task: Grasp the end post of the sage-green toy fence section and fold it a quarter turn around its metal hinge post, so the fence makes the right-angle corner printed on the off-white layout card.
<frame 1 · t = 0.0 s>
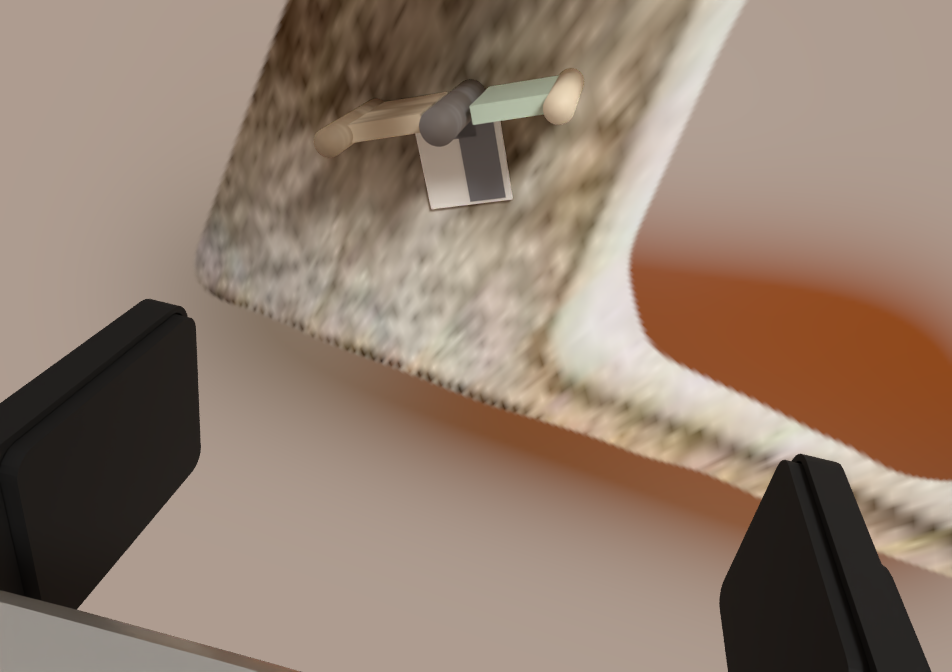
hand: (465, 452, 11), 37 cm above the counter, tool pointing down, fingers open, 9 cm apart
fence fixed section: (471, 96, 46), on the counter
fence swing section: (528, 100, 40), point 5 cm above the counter, hinge at 0.0°
layout card: (463, 162, 47), on the counter
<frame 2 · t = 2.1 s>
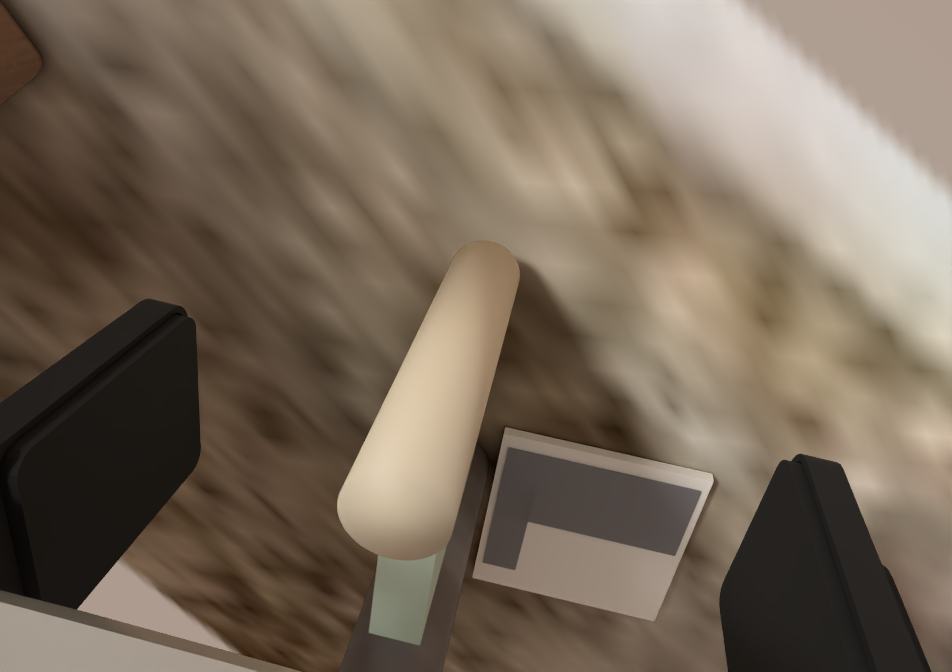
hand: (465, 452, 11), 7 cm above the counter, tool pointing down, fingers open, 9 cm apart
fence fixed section: (453, 462, 20), on the counter
fence swing section: (437, 450, 14), point 5 cm above the counter, hinge at 0.0°
layout card: (583, 530, 21), on the counter
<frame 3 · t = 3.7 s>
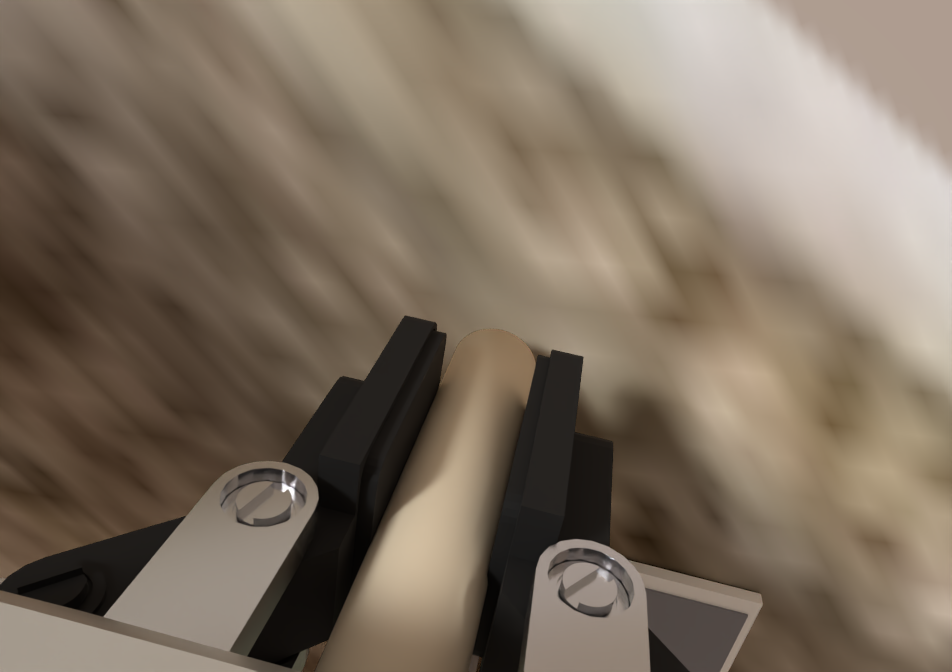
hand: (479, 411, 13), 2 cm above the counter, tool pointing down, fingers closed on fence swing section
fence swing section: (430, 603, 11), point 5 cm above the counter, hinge at 0.0°, touching gripper
layout card: (606, 648, 18), on the counter
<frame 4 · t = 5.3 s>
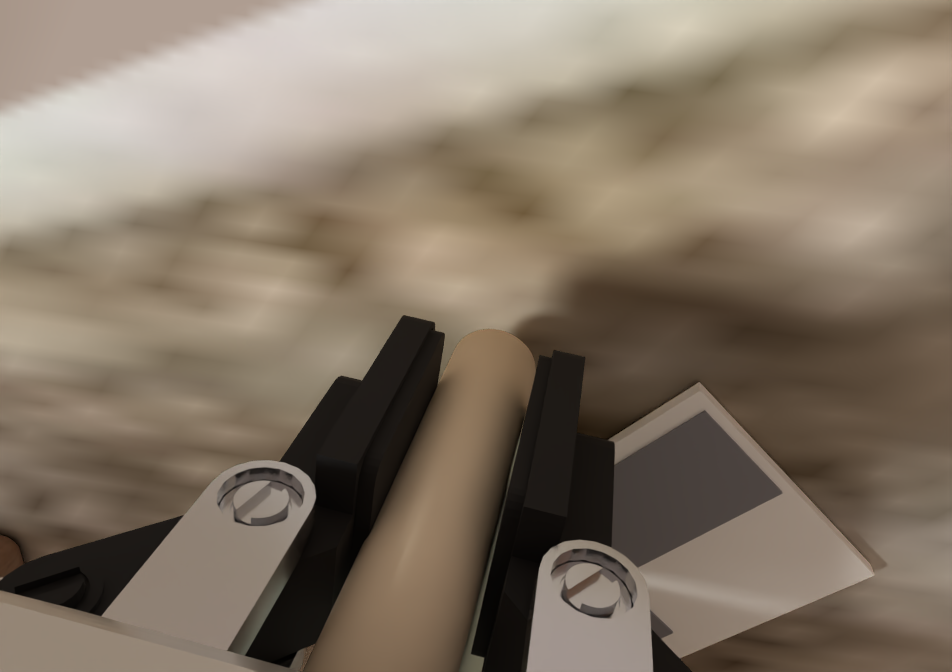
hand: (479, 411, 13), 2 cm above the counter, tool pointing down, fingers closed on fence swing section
fence swing section: (448, 612, 11), point 5 cm above the counter, hinge at -43.7°, touching gripper
layout card: (673, 543, 16), on the counter
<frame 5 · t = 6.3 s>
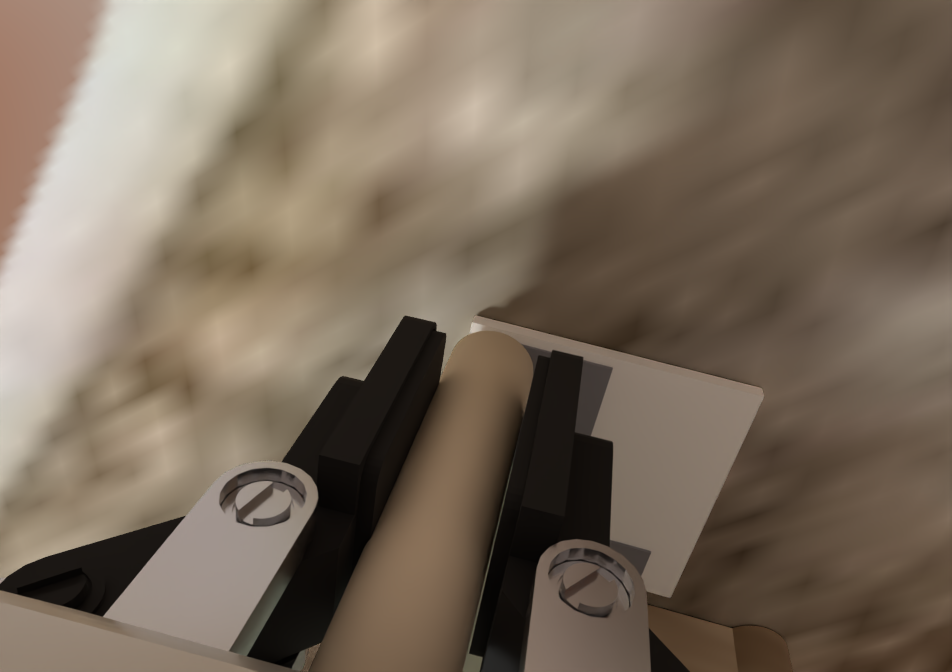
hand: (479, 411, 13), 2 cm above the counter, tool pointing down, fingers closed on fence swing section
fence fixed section: (489, 575, 17), on the counter
fence swing section: (442, 613, 11), point 5 cm above the counter, hinge at -80.8°, touching gripper
layout card: (579, 467, 15), on the counter
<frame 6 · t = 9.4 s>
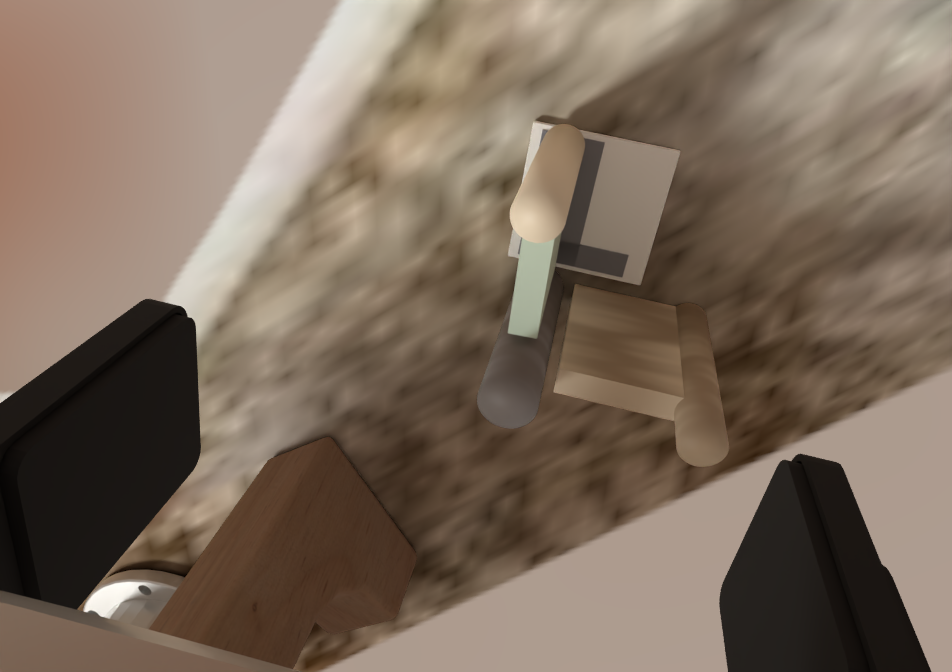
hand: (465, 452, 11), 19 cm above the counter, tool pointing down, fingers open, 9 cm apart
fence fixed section: (540, 286, 31), on the counter
fence swing section: (542, 233, 25), point 5 cm above the counter, hinge at -87.4°
wooden block: (346, 504, 40), on the counter
layout card: (589, 206, 29), on the counter
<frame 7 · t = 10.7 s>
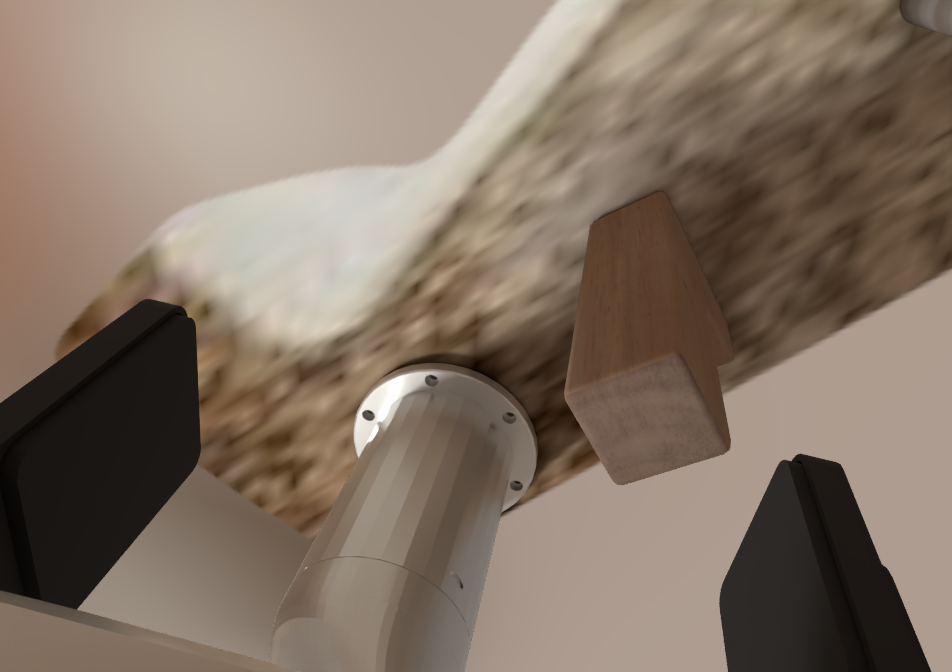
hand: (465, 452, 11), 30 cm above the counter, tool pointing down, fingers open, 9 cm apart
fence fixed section: (924, 0, 33), on the counter
wooden block: (658, 271, 41), on the counter
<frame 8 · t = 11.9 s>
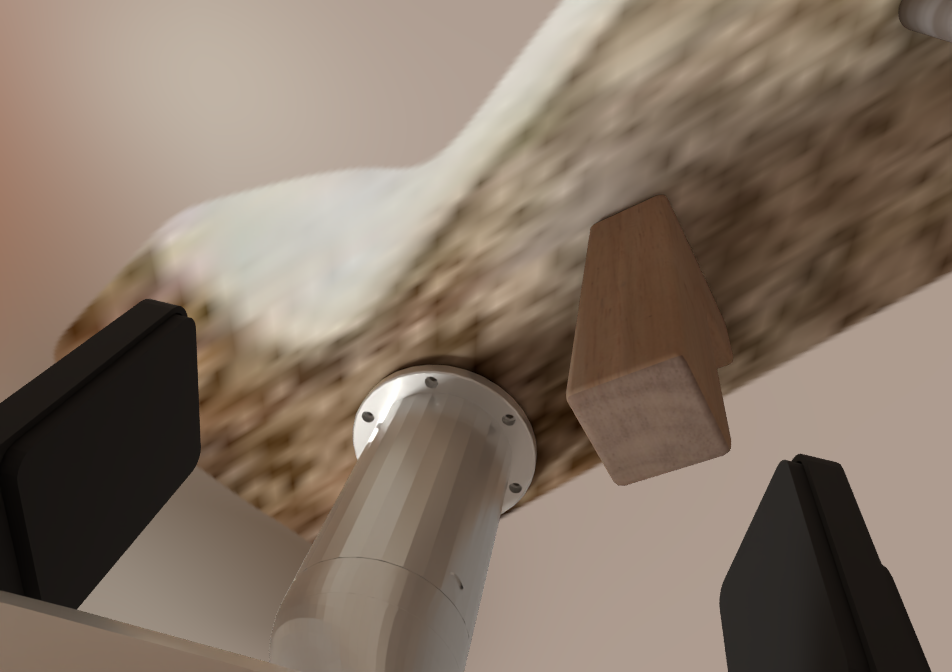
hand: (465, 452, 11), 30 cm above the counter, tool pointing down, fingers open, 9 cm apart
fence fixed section: (922, 7, 33), on the counter
wooden block: (658, 274, 42), on the counter
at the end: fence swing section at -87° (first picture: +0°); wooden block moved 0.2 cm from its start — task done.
